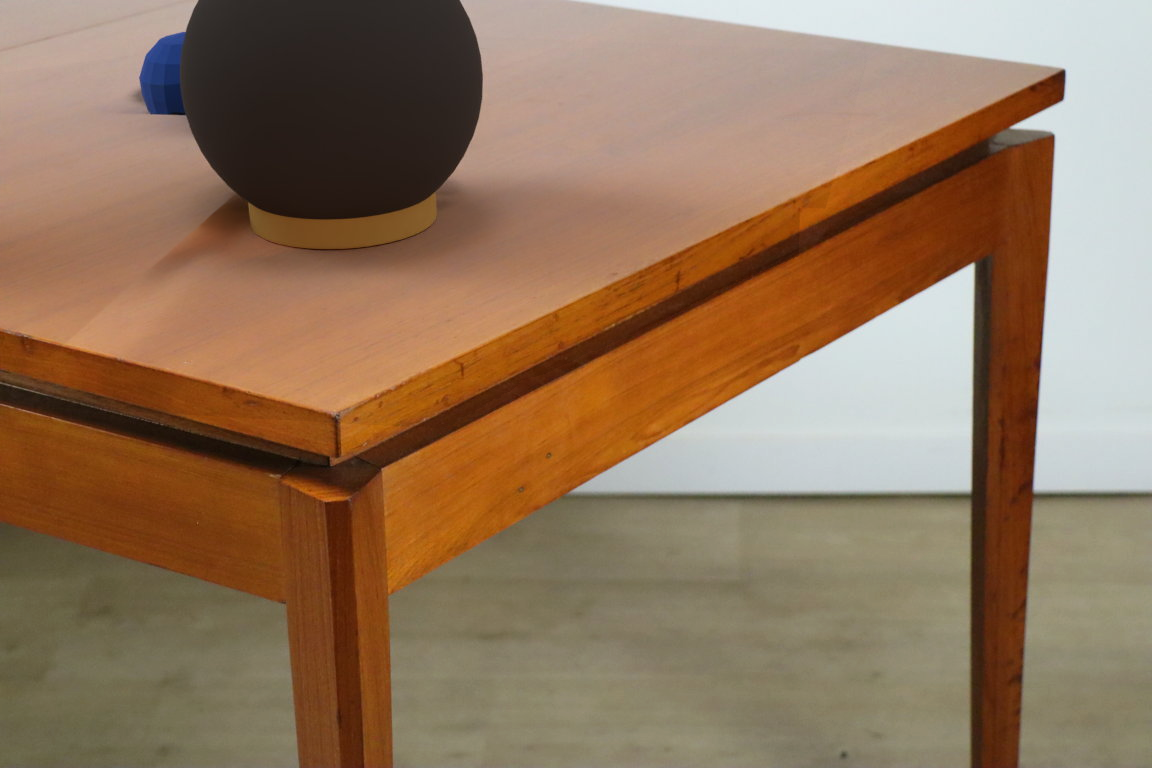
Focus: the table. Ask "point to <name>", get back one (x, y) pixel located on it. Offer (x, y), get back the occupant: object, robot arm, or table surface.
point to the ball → (333, 111)
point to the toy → (163, 76)
